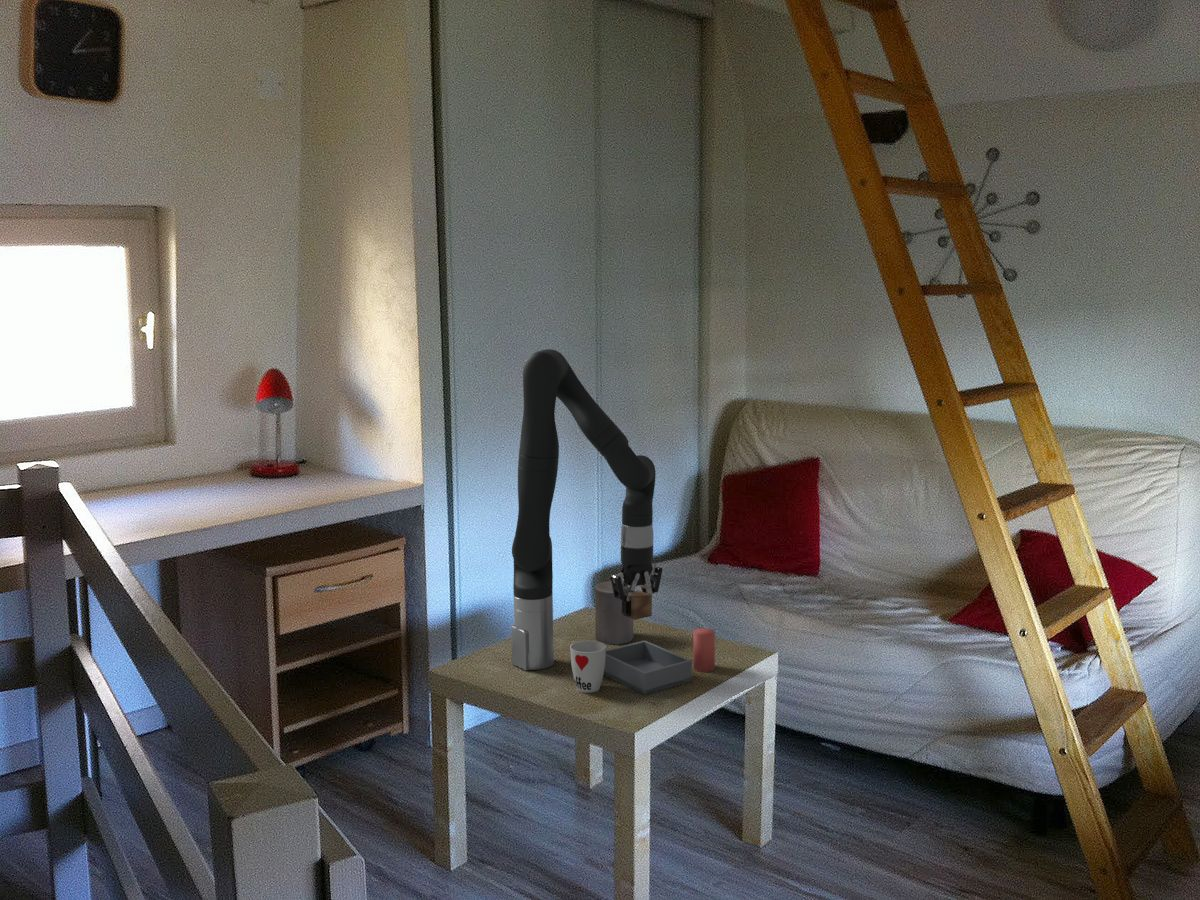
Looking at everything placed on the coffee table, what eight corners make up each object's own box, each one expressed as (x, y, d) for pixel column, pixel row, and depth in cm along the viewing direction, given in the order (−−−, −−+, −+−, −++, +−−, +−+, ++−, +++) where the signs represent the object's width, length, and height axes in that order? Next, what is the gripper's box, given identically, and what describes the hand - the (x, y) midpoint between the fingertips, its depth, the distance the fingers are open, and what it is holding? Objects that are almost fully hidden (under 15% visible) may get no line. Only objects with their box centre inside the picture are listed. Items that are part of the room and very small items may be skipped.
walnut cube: (634, 619, 284) (635, 599, 283) (621, 614, 288) (621, 593, 287) (651, 615, 287) (652, 595, 286) (638, 610, 291) (638, 590, 290)
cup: (563, 687, 279) (562, 645, 278) (592, 679, 284) (591, 637, 282) (584, 698, 273) (584, 655, 271) (613, 689, 278) (613, 647, 276)
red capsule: (702, 673, 287) (702, 636, 285) (689, 667, 291) (689, 631, 289) (719, 669, 290) (719, 632, 288) (705, 663, 294) (705, 626, 292)
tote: (644, 695, 274) (644, 673, 274) (598, 672, 288) (598, 652, 288) (691, 681, 282) (691, 660, 281) (644, 660, 296) (644, 640, 295)
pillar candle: (588, 635, 314) (588, 579, 311) (622, 629, 319) (621, 573, 316) (607, 647, 306) (606, 589, 303) (641, 640, 310) (640, 583, 307)
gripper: (650, 534, 291) (650, 604, 294) (602, 543, 283) (602, 615, 286) (671, 541, 285) (670, 611, 289) (622, 550, 277) (621, 623, 280)
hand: (636, 613), depth 287 cm, fingers closed on walnut cube, 5 cm apart
